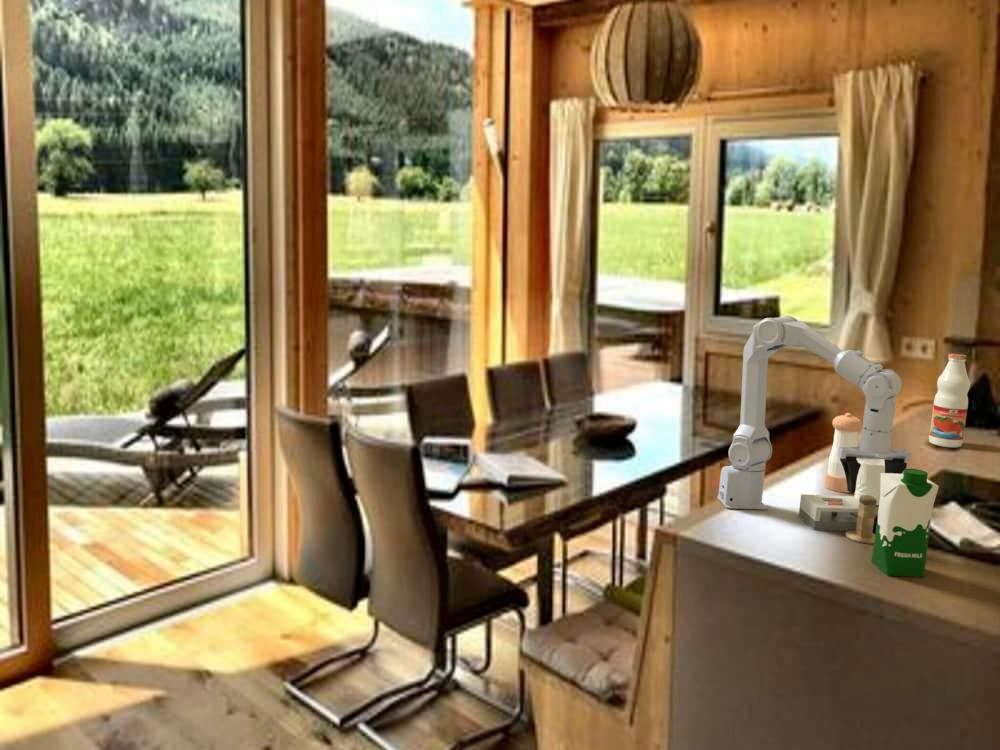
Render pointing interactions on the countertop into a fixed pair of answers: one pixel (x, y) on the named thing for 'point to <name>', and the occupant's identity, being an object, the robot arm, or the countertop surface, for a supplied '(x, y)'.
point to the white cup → (869, 478)
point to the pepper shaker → (843, 437)
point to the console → (829, 512)
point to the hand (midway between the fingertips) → (868, 492)
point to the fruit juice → (950, 404)
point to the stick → (866, 516)
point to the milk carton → (904, 523)
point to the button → (834, 504)
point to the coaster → (856, 538)
